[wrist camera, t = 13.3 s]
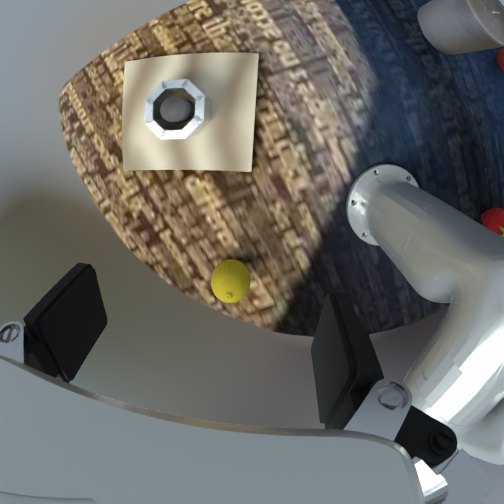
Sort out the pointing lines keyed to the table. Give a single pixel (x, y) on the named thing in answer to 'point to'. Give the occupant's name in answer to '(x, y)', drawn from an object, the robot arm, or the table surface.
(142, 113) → the post board
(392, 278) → the table surface
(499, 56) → the onion
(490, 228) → the strawberry
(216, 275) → the lemon
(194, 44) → the table surface
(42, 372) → the robot arm
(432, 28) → the pillar candle
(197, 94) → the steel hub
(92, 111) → the table surface
